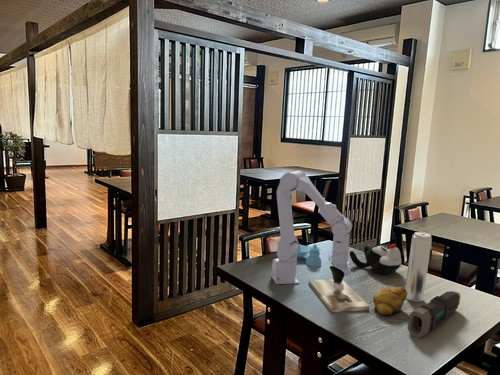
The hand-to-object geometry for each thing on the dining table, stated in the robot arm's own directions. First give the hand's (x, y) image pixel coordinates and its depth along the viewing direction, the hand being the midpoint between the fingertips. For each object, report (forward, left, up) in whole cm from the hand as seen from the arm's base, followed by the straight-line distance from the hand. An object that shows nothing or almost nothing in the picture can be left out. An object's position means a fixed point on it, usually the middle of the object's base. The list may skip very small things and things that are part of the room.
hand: (337, 285), depth 134 cm
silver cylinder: (+28, -5, -4) cm, 29 cm away
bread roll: (+13, -12, -4) cm, 18 cm away
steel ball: (0, -1, 0) cm, 1 cm away
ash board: (-1, -1, -3) cm, 4 cm away
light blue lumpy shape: (-1, +35, -4) cm, 35 cm away
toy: (+28, +22, -4) cm, 36 cm away
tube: (+25, -21, -4) cm, 33 cm away
